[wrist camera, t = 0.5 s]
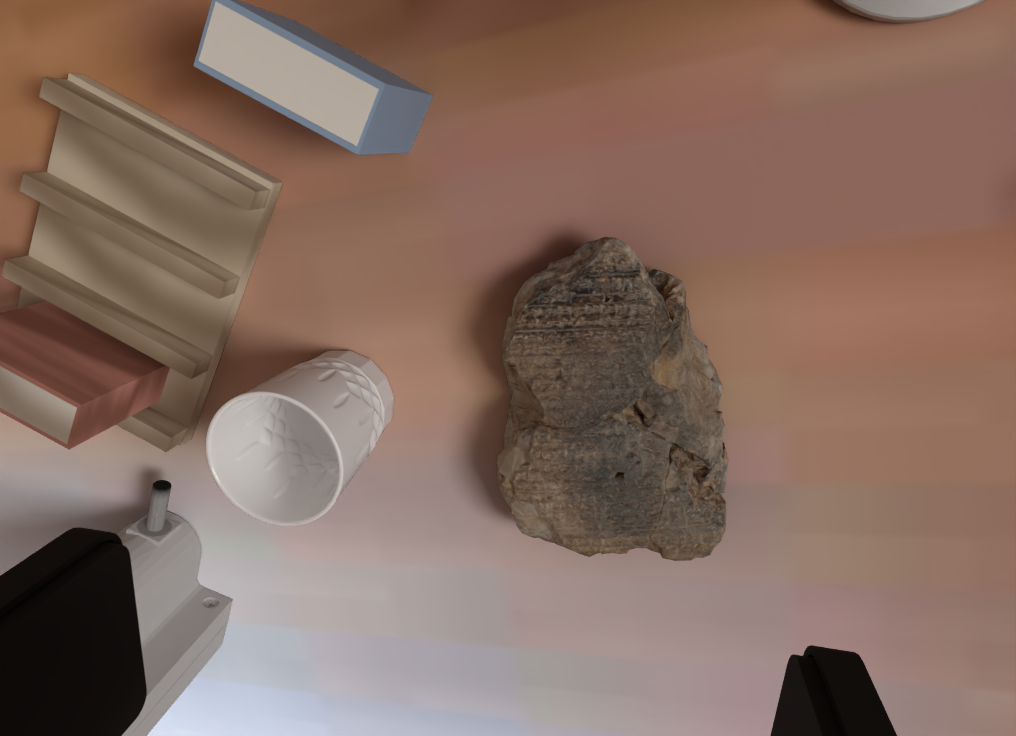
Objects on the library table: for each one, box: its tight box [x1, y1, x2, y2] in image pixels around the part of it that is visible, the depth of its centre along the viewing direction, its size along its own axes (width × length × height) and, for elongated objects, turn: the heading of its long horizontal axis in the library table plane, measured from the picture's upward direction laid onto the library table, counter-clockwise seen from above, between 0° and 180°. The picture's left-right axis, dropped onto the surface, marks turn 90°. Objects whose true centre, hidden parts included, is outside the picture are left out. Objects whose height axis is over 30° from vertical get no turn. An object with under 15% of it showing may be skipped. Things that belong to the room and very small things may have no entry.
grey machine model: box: [117, 480, 233, 736], centre depth 46 cm, size 12×14×15 cm
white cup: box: [206, 350, 394, 526], centre depth 41 cm, size 8×8×10 cm
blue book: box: [194, 0, 433, 155], centre depth 36 cm, size 4×9×8 cm, turn 63°
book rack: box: [0, 73, 283, 452], centre depth 41 cm, size 20×14×9 cm
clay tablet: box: [497, 237, 728, 561], centre depth 41 cm, size 14×5×20 cm
